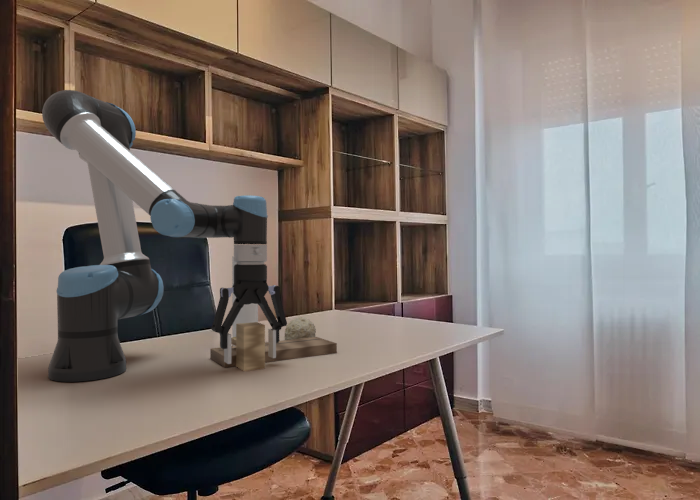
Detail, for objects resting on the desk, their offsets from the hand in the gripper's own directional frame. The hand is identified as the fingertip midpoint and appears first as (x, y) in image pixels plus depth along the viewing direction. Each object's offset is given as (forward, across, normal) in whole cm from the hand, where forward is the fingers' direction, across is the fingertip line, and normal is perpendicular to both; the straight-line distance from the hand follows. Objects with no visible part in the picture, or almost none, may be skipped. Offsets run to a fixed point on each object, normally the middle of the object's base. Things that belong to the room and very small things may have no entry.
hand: (250, 359), depth 116 cm
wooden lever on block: (+2, 0, +4) cm, 5 cm away
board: (+2, +10, +8) cm, 13 cm away
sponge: (+2, +23, +20) cm, 31 cm away
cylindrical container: (+2, +9, +27) cm, 29 cm away
